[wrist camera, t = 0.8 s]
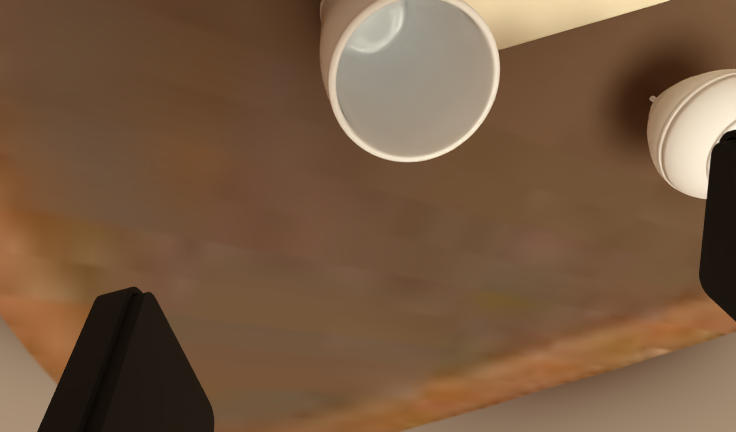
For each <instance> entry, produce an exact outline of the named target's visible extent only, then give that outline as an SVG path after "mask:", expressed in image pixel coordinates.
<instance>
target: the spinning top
mask: <svg viewBox="0 0 736 432" xmlns="http://www.w3.org/2000/svg"><path fill="white" fill-rule="evenodd" d="M650 101H652V102H653V104H652V106H651V109H650V113H649V118H648V125H647V138H648V145H649V150H650V154H651V158H652V160H653V163H654V165H655V167H656V169H657V171H658V172H659V174H660V175H661V176H662V177H663V178H664V179H665V180H666V181H667V182H668V184H670V185H671V186H672V187H673V188H675V189H677V190H678V191H680V192H682V193H685V194H687V195H689V196H693V197H697V198H702V199H707V189H708V179H709V169H710V159H711V152H712V149H713V147H714V145H716V144H717V143H719V141H720V139H721V137H722V135H723V134H725V133H726V132H727V131H731V130H735V129H736V69H725V70H717V71H712V72H707V73H703V74H700V75H696V76H693V77H690V78H687V79H684V80H682V81H680V82H679V83H677V84H675V85H673V86H672V87H670V88H668V89H667V90H665V91H664V92H662V93H661V94H660V95H659V96H658V97H655V96H651V97H650Z"/></svg>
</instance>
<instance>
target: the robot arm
mask: <svg viewBox="0 0 736 432" xmlns="http://www.w3.org/2000/svg"><path fill="white" fill-rule="evenodd" d="M699 278H700V283H701V285H702V287H703V289H704V291H705V292H706V294H707V295H708V296H709V297H710V298H711V299H712V300H713V301H714V302H716V303H717V304H718V305H719V306H720V307H721V308H722V309H723V310H724V311H725V312H726V313H727V314H728V315H729V316H730V317H732V318H733V319H734V320H735V321H736V129H735V130H731V131H727V132H726V133H725V134H723V135H722V137H721V139H720V141H719V143H717V144H716V145H714V147H713V149H712V152H711V159H710V169H709V179H708V189H707V199H706V209H705V219H704V230H703V240H702V250H701V260H700V270H699ZM37 432H214V415H213V410H212V407H211V404H210V402H209V400H208V398H207V396H206V394H205V392H204V390H203V388H202V387H201V385H200V383H199V381H198V379H197V377H196V375H195V373H194V371H193V369H192V367H191V365H190V363H189V361H188V360H187V358H186V356H185V354H184V352H183V350H182V348H181V346H180V344H179V342H178V340H177V338H176V336H175V334H174V333H173V331H172V329H171V327H170V325H169V323H168V321H167V319H166V317H165V315H164V313H163V311H162V309H161V308H160V306H159V304H158V302H157V300H156V298H155V297H154V295H153V294H152V293H150V292H146V293H142V292H141V291H140V290H139V289H138V288H137V287H130V288H126V289H123V290H119V291H115V292H111V293H107V294H103V295H100V296H98V297H97V298H96V300H95V301H94V304H93V306H92V308H91V310H90V313H89V315H88V317H87V320H86V322H85V324H84V326H83V329H82V331H81V333H80V336H79V338H78V340H77V342H76V345H75V347H74V349H73V351H72V354H71V356H70V358H69V361H68V363H67V365H66V367H65V370H64V372H63V374H62V377H61V379H60V381H59V383H58V386H57V388H56V391H55V393H54V395H53V397H52V400H51V402H50V404H49V406H48V409H47V411H46V413H45V416H44V418H43V420H42V422H41V424H40V427H39V429H38V431H37Z"/></svg>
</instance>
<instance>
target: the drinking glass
mask: <svg viewBox="0 0 736 432" xmlns="http://www.w3.org/2000/svg"><path fill="white" fill-rule="evenodd" d="M320 22H321V32H320V46H319V57H320V68H321V75H322V80H323V84H324V88H325V91H326V94H327V97H328V100H329V102H330V105H331V107H332V109H333V112H334V114H335V117H336V119H337V121H338V122H339V124H340V126H341V127H342V129H343V130H344V131H345V133H346V134H347V135H348V136H349V137H350V138H351V140H353V141H354V142H355V143H356V144H357V145H358V146H360V147H361V148H363V149H364V150H366V151H367V152H369V153H371V154H373V155H375V156H378V157H380V158H384V159H387V160H391V161H398V162H417V161H424V160H428V159H432V158H435V157H438V156H441V155H443V154H445V153H447V152H449V151H451V150H453V149H454V148H456V147H457V146H459V145H461V144H462V143H463V142H464V141H466V140H467V139H468V138H469V137H470V136H471V135H472V134H473V133H474V132H475V131H476V130H477V129H478V128H479V126H480V125H481V124H482V122H483V121H484V119H485V118H486V116H487V115H488V113H489V111H490V109H491V107H492V104H493V102H494V99H495V96H496V93H497V89H498V84H499V77H500V61H499V54H498V49H497V45H496V42H495V39H494V37H493V34H492V32H491V30H490V29H489V27H488V25H487V24H486V22H485V21H484V19H483V18H482V17H481V16H480V15H479V13H478V12H477V11H476V10H474V9H473V8H472V7H471V6H470V5H468V4H467V3H466V2H465V1H464V0H321V3H320Z"/></svg>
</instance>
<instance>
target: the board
mask: <svg viewBox="0 0 736 432" xmlns="http://www.w3.org/2000/svg"><path fill="white" fill-rule="evenodd" d="M464 1H465V2H466V3H467V4H468V5H470V6H471V7H472V8H473V9H474V10H476V11H477V12H478V13H479V15H480V16H481V17H482V18H483V19H484V21H485V22H486V24H487V25H488V27H489V29H490V30H491V32H492V34H493V37H494V39H495V42H496V45H497V49H498V50H500V49H504V48H507V47H511V46H514V45H518V44H521V43H525V42H528V41H531V40H535V39H538V38H542V37H545V36H549V35H552V34H556V33H559V32H562V31H566V30H569V29H573V28H576V27H580V26H583V25H586V24H590V23H593V22H597V21H600V20H604V19H607V18H611V17H614V16H617V15H621V14H624V13H628V12H631V11H635V10H638V9H642V8H645V7H648V6H652V5H655V4H659V3H662V2H666V1H669V0H464Z"/></svg>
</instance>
